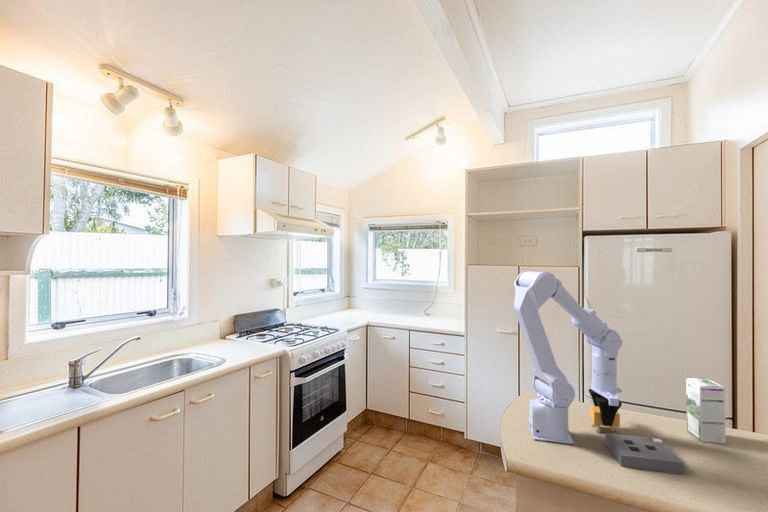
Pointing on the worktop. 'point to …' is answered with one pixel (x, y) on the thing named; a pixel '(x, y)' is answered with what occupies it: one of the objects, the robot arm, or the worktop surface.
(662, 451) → the socket
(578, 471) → the worktop surface
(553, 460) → the worktop surface
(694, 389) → the syrup box
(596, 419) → the plug
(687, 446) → the worktop surface
